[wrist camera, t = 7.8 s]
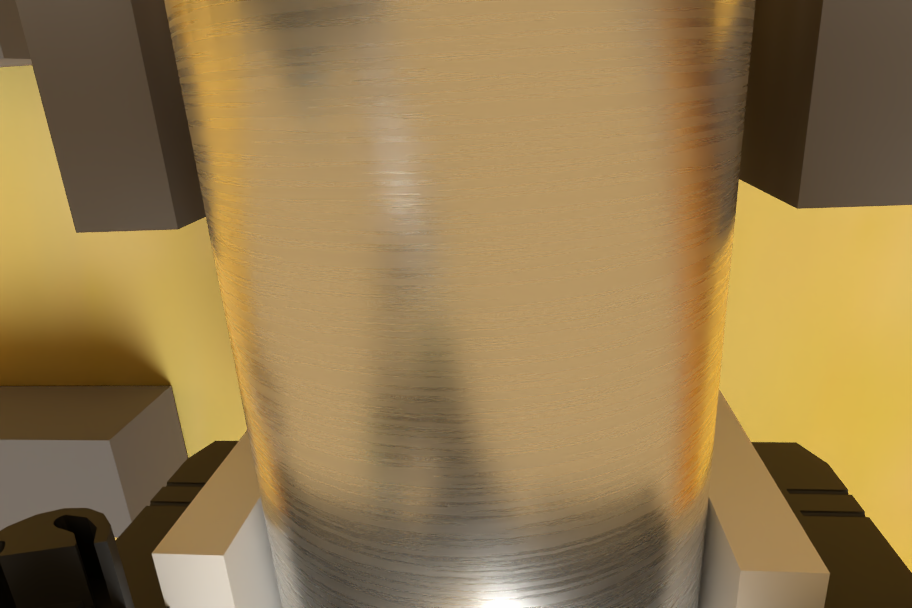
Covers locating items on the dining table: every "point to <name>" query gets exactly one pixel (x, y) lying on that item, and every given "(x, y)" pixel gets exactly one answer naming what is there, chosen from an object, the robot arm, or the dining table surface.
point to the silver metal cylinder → (474, 286)
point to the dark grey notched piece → (764, 134)
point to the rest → (81, 422)
